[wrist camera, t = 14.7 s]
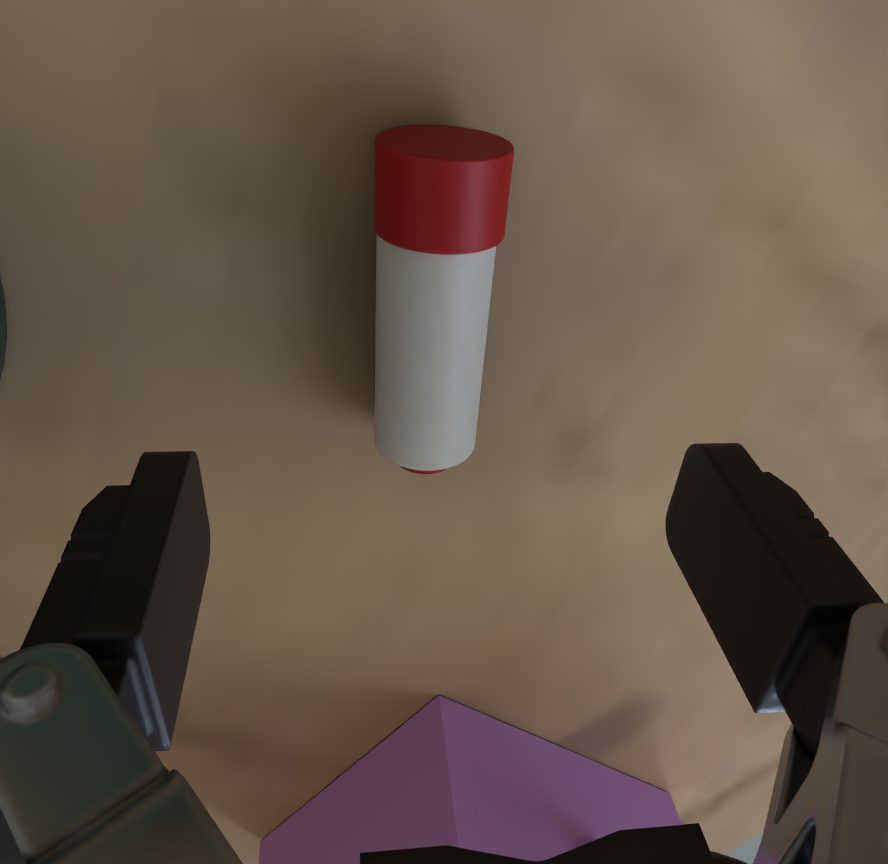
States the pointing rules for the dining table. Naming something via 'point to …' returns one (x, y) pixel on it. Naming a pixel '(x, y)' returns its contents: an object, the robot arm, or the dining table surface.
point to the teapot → (466, 796)
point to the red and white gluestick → (434, 286)
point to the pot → (2, 329)
